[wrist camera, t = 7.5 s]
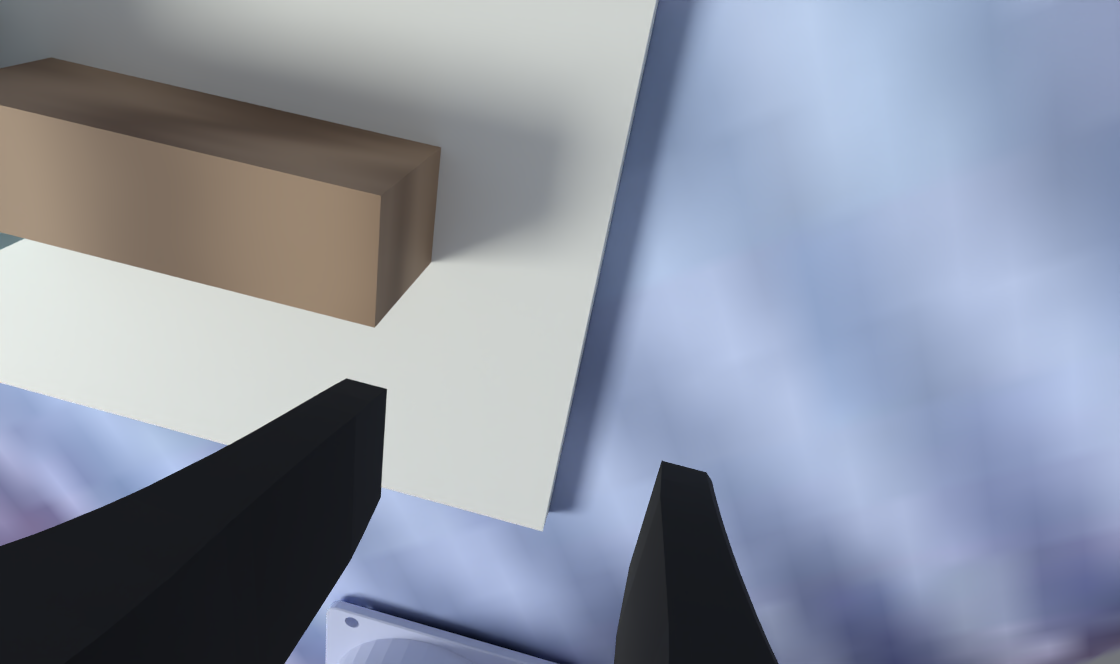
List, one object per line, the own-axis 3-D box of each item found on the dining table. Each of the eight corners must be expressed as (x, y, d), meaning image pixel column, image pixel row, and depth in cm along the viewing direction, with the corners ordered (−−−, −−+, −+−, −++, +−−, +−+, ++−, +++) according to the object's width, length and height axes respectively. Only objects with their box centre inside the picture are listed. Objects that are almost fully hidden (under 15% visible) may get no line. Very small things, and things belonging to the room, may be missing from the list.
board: (659, -5, 16) (656, -1, 15) (547, 513, 24) (542, 531, 23) (-399, -223, 18) (-443, -228, 18) (-189, 313, 26) (-214, 324, 25)
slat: (441, 147, 18) (380, 195, 15) (430, 262, 19) (375, 327, 16) (51, 57, 19) (-82, 85, 16) (71, 174, 20) (-46, 220, 17)
